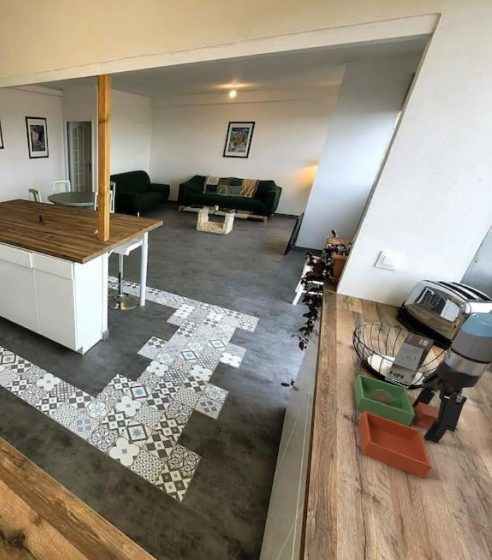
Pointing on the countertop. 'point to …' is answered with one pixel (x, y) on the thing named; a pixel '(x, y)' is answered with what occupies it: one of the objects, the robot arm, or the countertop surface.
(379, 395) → the lime
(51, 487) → the countertop surface
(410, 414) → the green bin
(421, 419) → the block
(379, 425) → the terracotta bin
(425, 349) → the coffee box
